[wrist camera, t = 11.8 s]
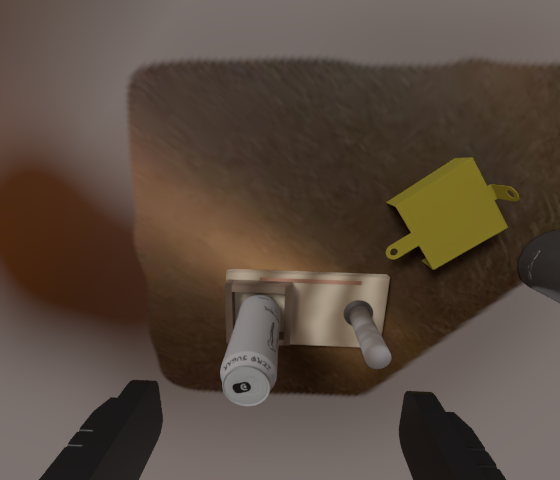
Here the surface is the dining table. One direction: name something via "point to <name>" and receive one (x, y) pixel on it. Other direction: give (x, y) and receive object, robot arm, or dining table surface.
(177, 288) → the dining table surface
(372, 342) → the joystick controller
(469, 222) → the bracket
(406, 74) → the dining table surface
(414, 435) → the robot arm
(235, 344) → the energy drink can
